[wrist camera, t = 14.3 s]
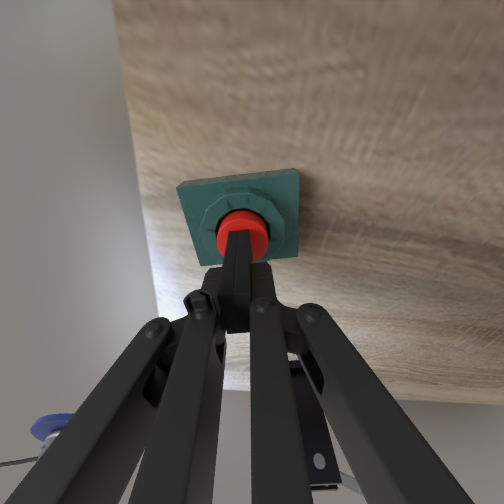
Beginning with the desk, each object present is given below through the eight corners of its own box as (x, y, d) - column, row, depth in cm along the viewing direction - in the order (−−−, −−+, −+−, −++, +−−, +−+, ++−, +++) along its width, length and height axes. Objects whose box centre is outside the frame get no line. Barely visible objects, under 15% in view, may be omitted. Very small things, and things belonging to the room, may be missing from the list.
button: (224, 255, 18) (222, 266, 16) (214, 213, 15) (211, 222, 14) (268, 250, 17) (270, 261, 16) (264, 207, 15) (266, 216, 14)
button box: (204, 254, 22) (196, 277, 19) (183, 181, 18) (167, 193, 14) (293, 245, 21) (302, 267, 18) (294, 168, 17) (305, 177, 14)
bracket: (330, 357, 34) (373, 478, 22) (326, 380, 38) (360, 491, 26) (267, 362, 34) (277, 483, 23) (269, 384, 38) (279, 495, 27)
